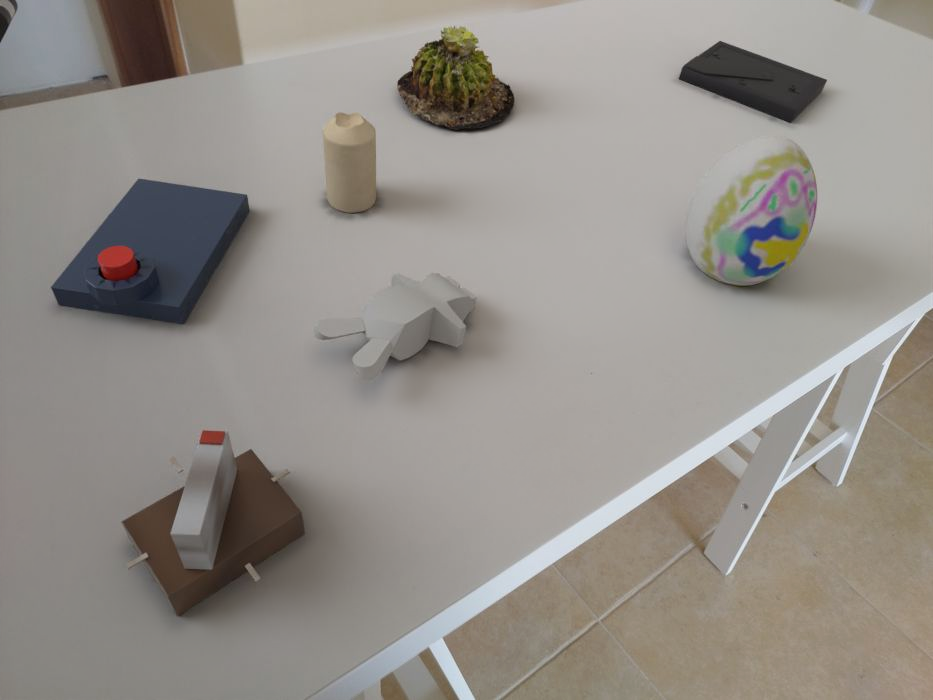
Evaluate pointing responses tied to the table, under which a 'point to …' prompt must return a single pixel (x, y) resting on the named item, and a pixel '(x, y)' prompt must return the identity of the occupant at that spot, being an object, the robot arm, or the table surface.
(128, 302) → the button block
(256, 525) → the tap base
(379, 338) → the bunny figurine
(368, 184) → the candle
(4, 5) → the robot arm
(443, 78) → the cactus
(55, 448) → the table surface
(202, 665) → the table surface
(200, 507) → the light grey narrow block
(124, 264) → the button
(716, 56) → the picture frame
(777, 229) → the decorative egg
